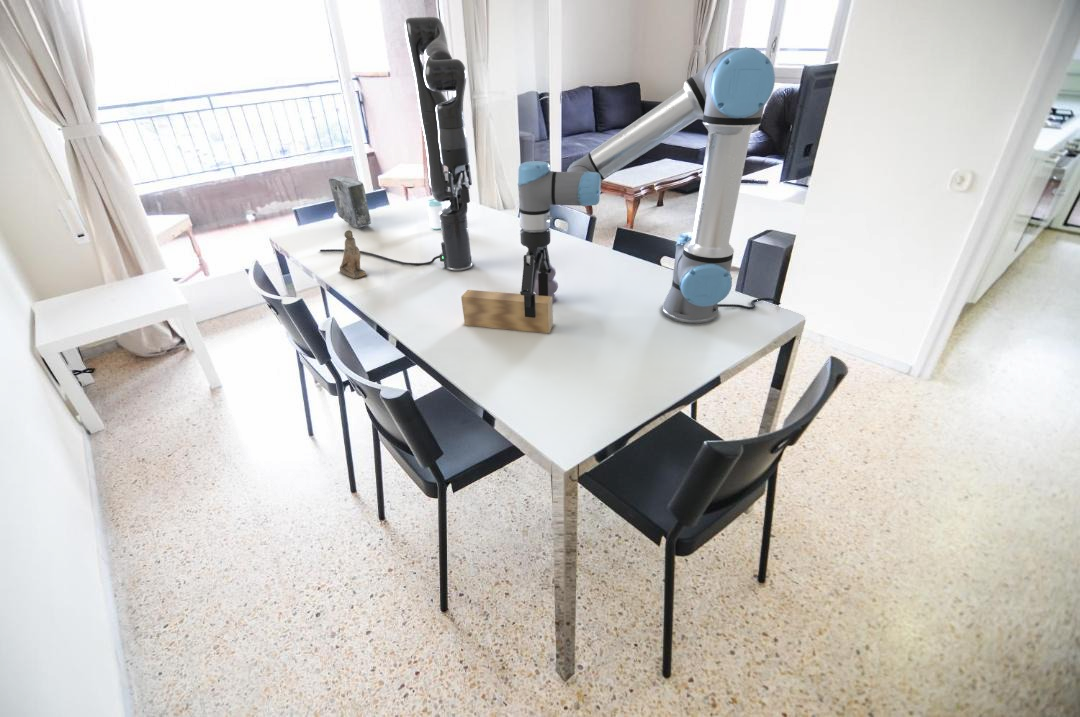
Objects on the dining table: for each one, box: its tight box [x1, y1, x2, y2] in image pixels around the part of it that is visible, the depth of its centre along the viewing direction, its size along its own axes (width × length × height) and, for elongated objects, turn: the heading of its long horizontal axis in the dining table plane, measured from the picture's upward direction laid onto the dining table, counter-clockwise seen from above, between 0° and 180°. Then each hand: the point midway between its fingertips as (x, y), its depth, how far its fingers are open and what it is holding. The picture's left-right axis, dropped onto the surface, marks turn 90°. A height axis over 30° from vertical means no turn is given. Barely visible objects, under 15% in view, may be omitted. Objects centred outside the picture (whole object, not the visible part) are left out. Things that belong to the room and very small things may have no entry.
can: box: [426, 198, 445, 230], centre depth 220 cm, size 7×7×12 cm
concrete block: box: [328, 175, 372, 229], centre depth 226 cm, size 27×9×20 cm, turn 36°
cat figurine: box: [534, 263, 559, 303], centre depth 151 cm, size 9×8×12 cm
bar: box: [460, 289, 554, 334], centre depth 138 cm, size 25×5×9 cm, turn 75°
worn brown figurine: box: [339, 229, 367, 280], centre depth 174 cm, size 12×6×18 cm, turn 43°
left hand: (460, 206), depth 142 cm, fingers open, 8 cm apart
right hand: (537, 305), depth 135 cm, fingers open, 13 cm apart
